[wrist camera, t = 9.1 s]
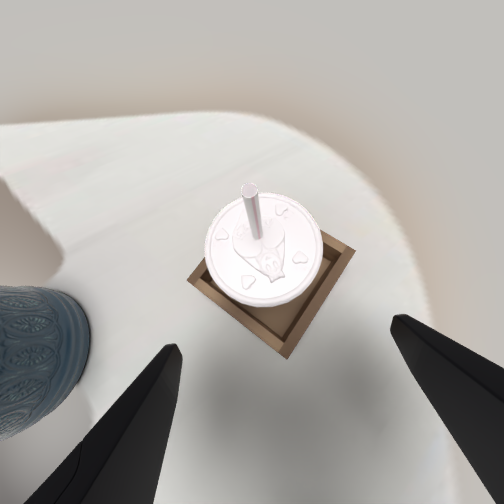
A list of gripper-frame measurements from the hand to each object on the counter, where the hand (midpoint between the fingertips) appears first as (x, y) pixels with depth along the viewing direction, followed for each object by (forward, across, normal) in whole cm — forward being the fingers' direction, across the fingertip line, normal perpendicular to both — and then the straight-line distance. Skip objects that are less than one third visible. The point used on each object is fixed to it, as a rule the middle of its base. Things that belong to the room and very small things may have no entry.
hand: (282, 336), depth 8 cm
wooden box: (+11, 0, +5) cm, 12 cm away
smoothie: (+11, 0, +4) cm, 12 cm away
